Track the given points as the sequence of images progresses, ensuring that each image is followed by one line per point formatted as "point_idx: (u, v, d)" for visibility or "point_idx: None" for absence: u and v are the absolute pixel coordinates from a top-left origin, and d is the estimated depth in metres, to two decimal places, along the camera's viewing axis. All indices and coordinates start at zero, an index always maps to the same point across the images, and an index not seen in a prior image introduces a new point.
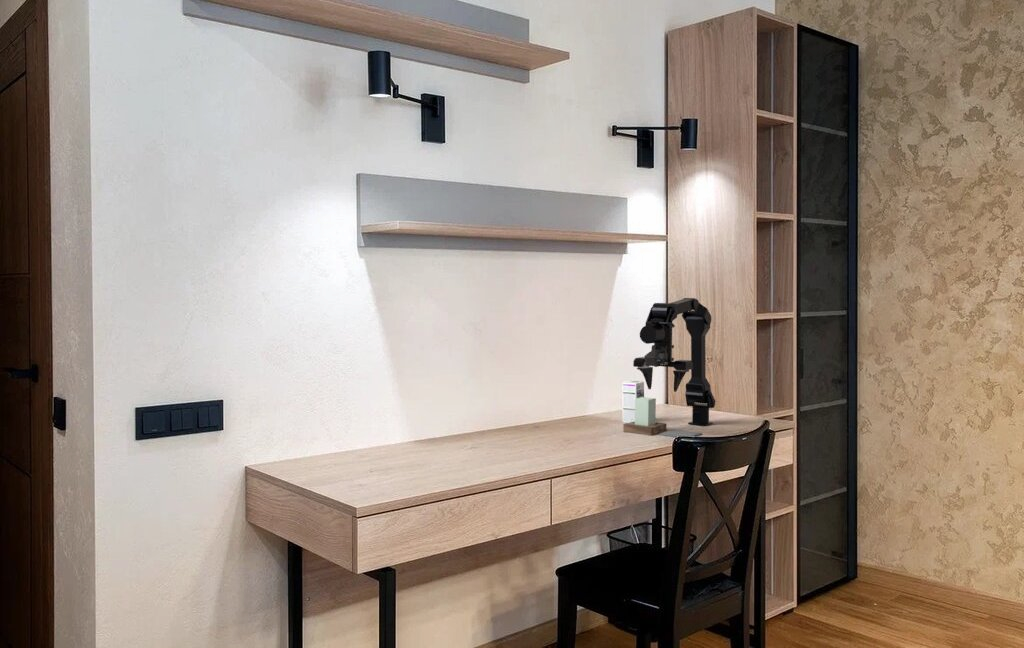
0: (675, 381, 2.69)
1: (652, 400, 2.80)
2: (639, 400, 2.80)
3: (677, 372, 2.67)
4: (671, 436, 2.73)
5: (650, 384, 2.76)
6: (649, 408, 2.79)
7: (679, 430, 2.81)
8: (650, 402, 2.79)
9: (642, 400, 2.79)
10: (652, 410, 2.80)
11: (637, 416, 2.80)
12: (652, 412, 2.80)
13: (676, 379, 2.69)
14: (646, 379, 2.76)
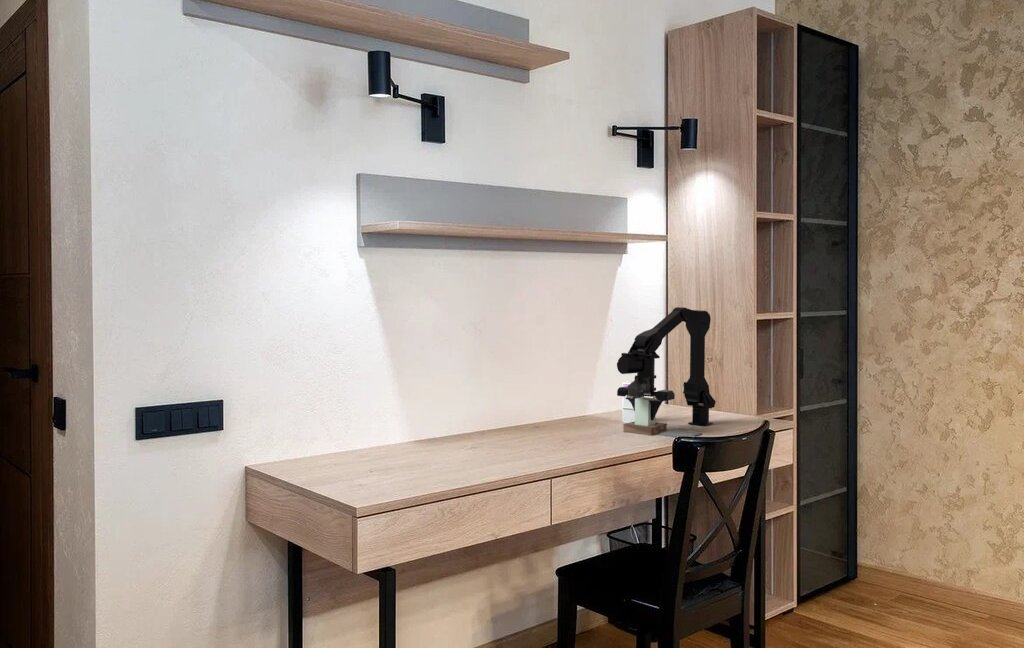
0: (652, 410, 2.78)
1: None
2: (639, 400, 2.80)
3: (654, 402, 2.76)
4: (671, 436, 2.73)
5: None
6: (649, 408, 2.79)
7: (679, 430, 2.81)
8: None
9: (642, 400, 2.79)
10: None
11: (637, 416, 2.80)
12: None
13: (653, 408, 2.78)
14: (634, 409, 2.83)
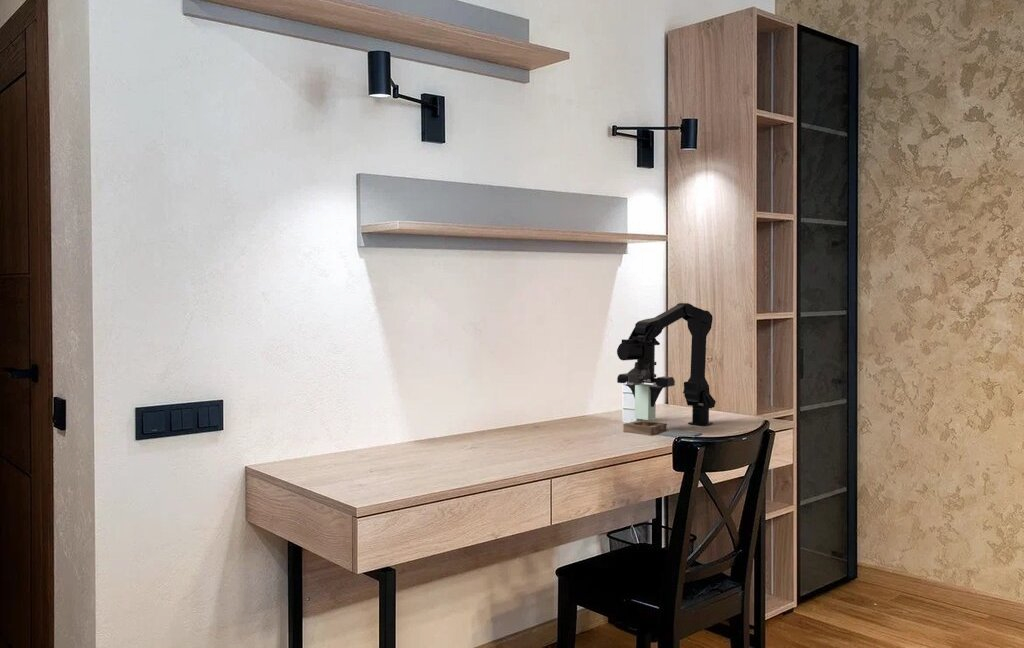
0: (652, 397, 2.78)
1: None
2: (639, 387, 2.80)
3: (654, 388, 2.76)
4: (671, 436, 2.73)
5: None
6: (649, 395, 2.78)
7: (679, 430, 2.81)
8: None
9: (642, 387, 2.79)
10: None
11: (637, 403, 2.80)
12: None
13: (653, 395, 2.78)
14: None
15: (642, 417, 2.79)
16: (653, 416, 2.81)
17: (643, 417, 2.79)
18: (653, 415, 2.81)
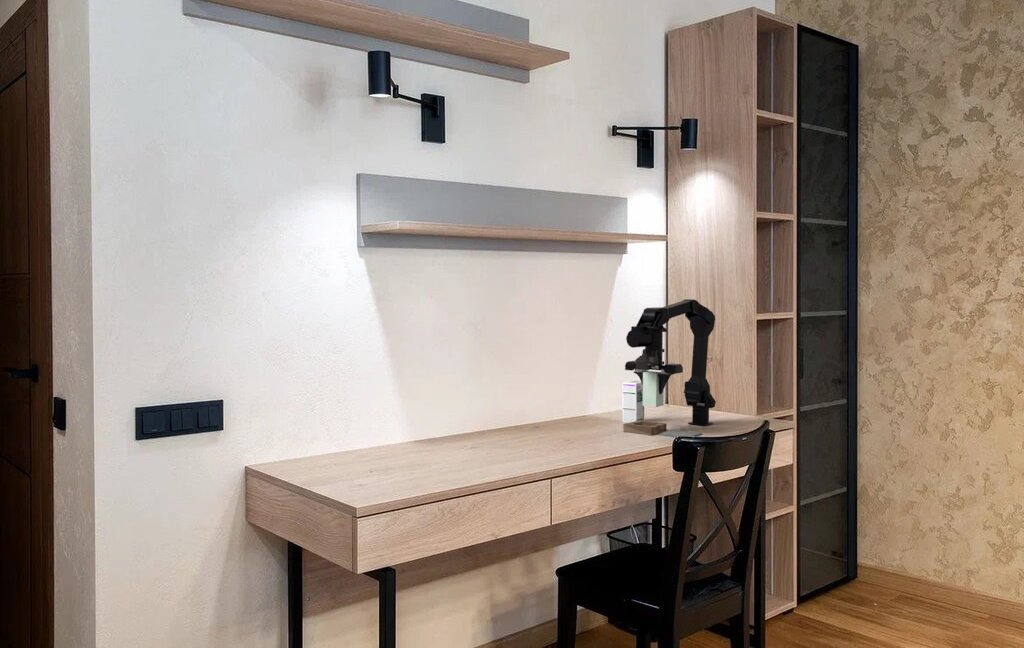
0: (660, 384, 2.77)
1: None
2: (647, 374, 2.78)
3: (662, 375, 2.75)
4: (671, 436, 2.73)
5: None
6: (657, 382, 2.77)
7: (679, 430, 2.81)
8: (658, 376, 2.77)
9: (650, 374, 2.77)
10: None
11: (645, 390, 2.79)
12: None
13: (661, 382, 2.76)
14: (642, 383, 2.81)
15: (650, 404, 2.78)
16: (661, 403, 2.79)
17: (651, 404, 2.78)
18: (661, 402, 2.79)
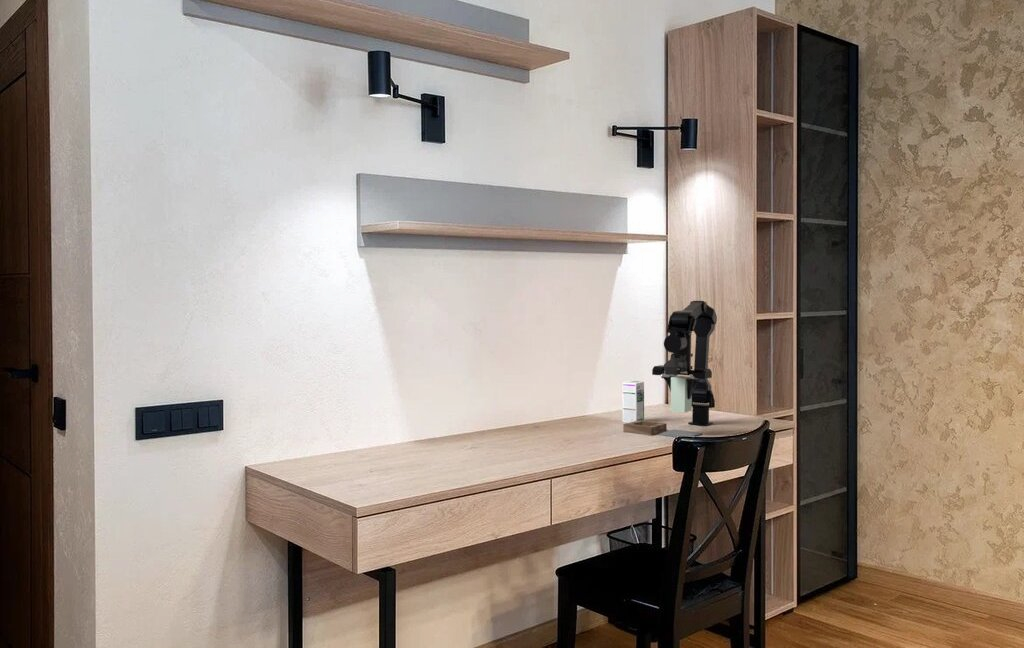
0: (689, 389, 2.72)
1: None
2: (675, 379, 2.74)
3: (691, 380, 2.70)
4: (671, 436, 2.73)
5: None
6: (686, 387, 2.72)
7: (679, 430, 2.81)
8: (686, 380, 2.73)
9: (678, 379, 2.73)
10: None
11: (674, 395, 2.74)
12: None
13: (690, 387, 2.72)
14: (670, 388, 2.76)
15: (678, 410, 2.73)
16: (689, 409, 2.75)
17: (679, 410, 2.73)
18: (689, 407, 2.75)
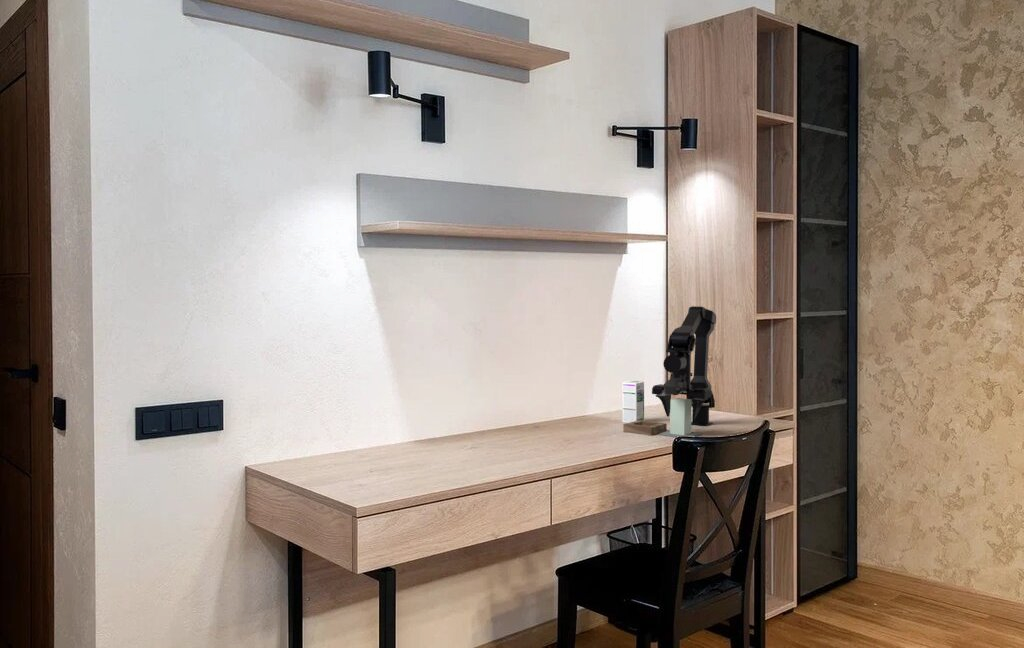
0: (694, 409, 2.71)
1: (688, 401, 2.74)
2: (675, 401, 2.74)
3: (696, 400, 2.69)
4: (671, 436, 2.73)
5: (668, 411, 2.79)
6: (685, 410, 2.73)
7: None
8: (686, 403, 2.73)
9: (678, 401, 2.73)
10: (688, 412, 2.75)
11: (673, 417, 2.75)
12: (688, 413, 2.74)
13: (695, 407, 2.71)
14: (665, 406, 2.78)
15: (678, 432, 2.74)
16: (689, 431, 2.75)
17: (679, 432, 2.73)
18: (688, 430, 2.75)
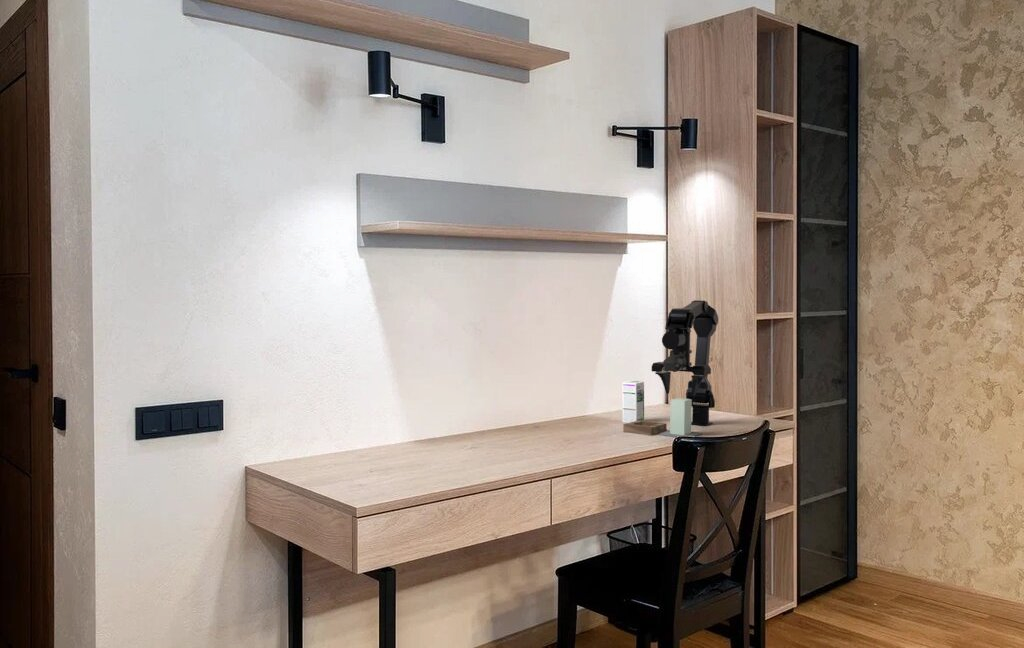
0: (693, 386, 2.73)
1: (688, 401, 2.74)
2: (675, 401, 2.74)
3: (695, 377, 2.71)
4: (671, 436, 2.73)
5: (668, 388, 2.80)
6: (685, 410, 2.73)
7: None
8: (686, 403, 2.73)
9: (678, 401, 2.73)
10: (688, 412, 2.75)
11: (673, 417, 2.75)
12: (688, 413, 2.74)
13: (694, 384, 2.73)
14: (664, 384, 2.79)
15: (678, 432, 2.74)
16: (689, 431, 2.75)
17: (679, 432, 2.73)
18: (688, 430, 2.75)
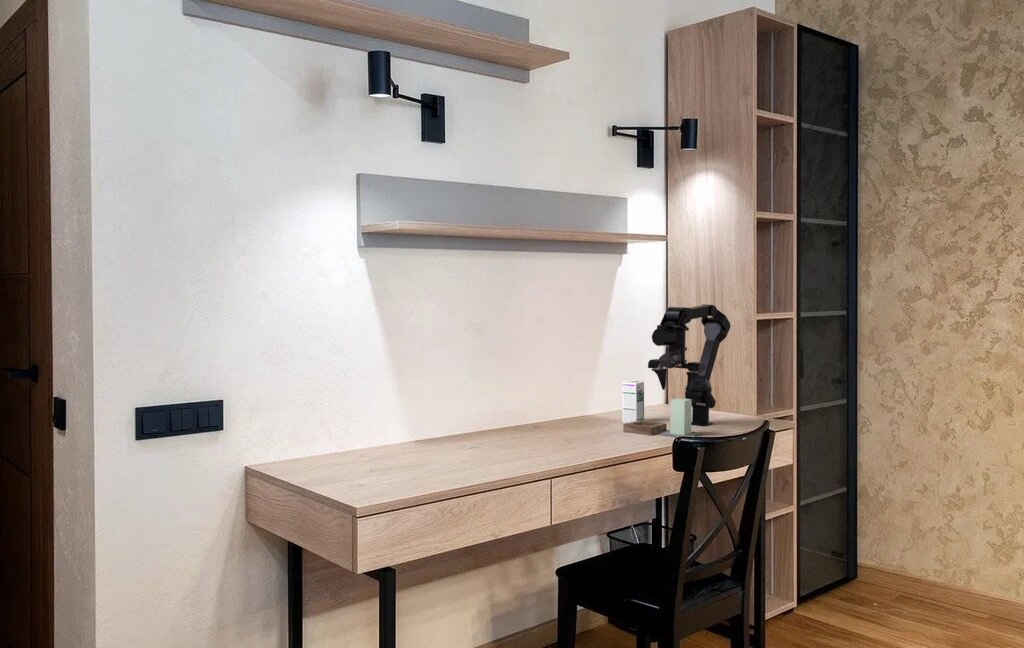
0: (688, 382, 2.81)
1: (688, 401, 2.74)
2: (675, 401, 2.74)
3: (690, 373, 2.79)
4: (671, 436, 2.73)
5: (664, 385, 2.88)
6: (685, 410, 2.73)
7: None
8: (686, 403, 2.73)
9: (678, 401, 2.73)
10: (688, 412, 2.75)
11: (673, 417, 2.75)
12: (688, 413, 2.74)
13: (689, 380, 2.81)
14: (660, 380, 2.87)
15: (678, 432, 2.74)
16: (689, 431, 2.75)
17: (679, 432, 2.73)
18: (688, 430, 2.75)
